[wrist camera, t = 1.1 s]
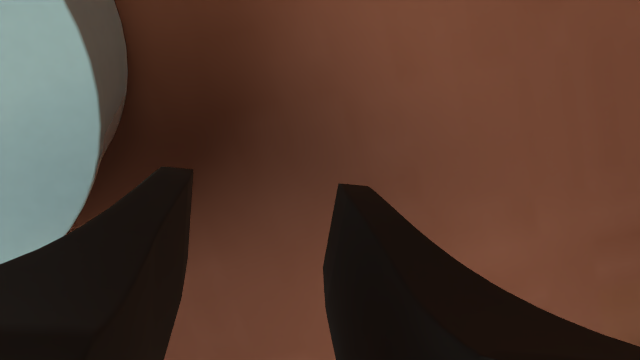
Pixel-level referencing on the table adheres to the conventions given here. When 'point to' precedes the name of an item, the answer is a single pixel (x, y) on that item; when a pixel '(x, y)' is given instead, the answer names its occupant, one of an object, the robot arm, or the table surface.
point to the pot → (55, 113)
